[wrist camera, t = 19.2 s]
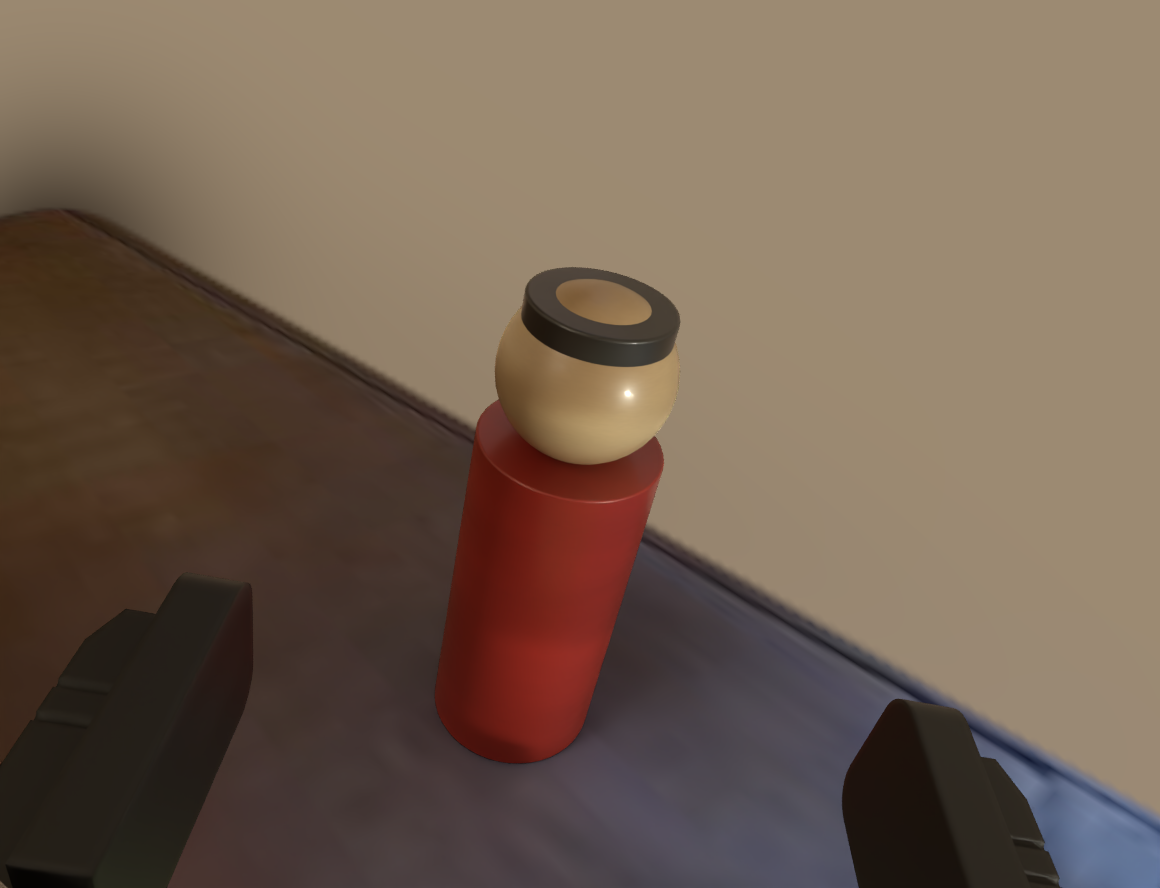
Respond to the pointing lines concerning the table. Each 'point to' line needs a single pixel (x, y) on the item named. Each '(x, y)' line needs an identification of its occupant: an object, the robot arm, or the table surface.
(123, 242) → the table surface
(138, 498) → the table surface
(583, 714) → the doll
